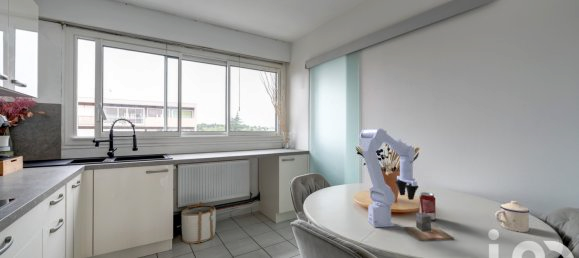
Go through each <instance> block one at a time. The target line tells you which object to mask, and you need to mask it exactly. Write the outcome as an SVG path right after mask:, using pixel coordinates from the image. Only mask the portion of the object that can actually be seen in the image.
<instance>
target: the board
mask: <svg viewBox="0 0 579 258" xmlns="http://www.w3.org/2000/svg"><path fill="white" fill-rule="evenodd" d="M403 229H404V231H406V232H407V233H409V234H410V235H411V237H414V238H415V239H416V240H418V241H419V242H423V241H451V240H455V237H453V235H450V234H449V233H447V232H445V231H444V230H442V229H441V228H439V227H437V226H436V225H431V231H421V230H420V229H418V228H417V227H416V226H404V227H403Z"/></svg>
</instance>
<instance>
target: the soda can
mask: <svg viewBox="0 0 579 258" xmlns="http://www.w3.org/2000/svg"><path fill="white" fill-rule="evenodd" d="M418 203H419V204H418V207H419V210H418V213H426V214H428V215H429V216H431V222H432V221H434V220H436V216H437V215H436V197H435V195H434V193H431V192H423V191H422V192H420V195H419V199H418Z"/></svg>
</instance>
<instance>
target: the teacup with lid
mask: <svg viewBox="0 0 579 258" xmlns="http://www.w3.org/2000/svg"><path fill="white" fill-rule="evenodd" d="M529 213H530V209H529V208H527V207H526V206H523V205H521V204H520V203H518V201H516V200H511V201H510V202H508V203H502V204H500V210H497V211H496V212H495V214H494V216H495V219H496V220H497V221H498V222H500V223H501V224H500V226H502V227H503V228H504V229H506V230H510V231H513V232H517V231H518V232H517V233H519V232H520V233H527V232H529V230H530V227H529V226H530V225H529V224H530V222H529ZM500 214H501V215H500ZM499 215H500V217H499Z"/></svg>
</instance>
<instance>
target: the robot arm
mask: <svg viewBox="0 0 579 258" xmlns="http://www.w3.org/2000/svg"><path fill="white" fill-rule="evenodd" d="M358 138H359V141H360V144H361V150H362V151H361V152H362V155H363V158H364V161H365V165H366V169H367V170H368V174H369V178H370V181H371V186H369V197H370V199H371V201H372V204H371V203H370V204H368V207H367V211H368V212H367V215H368V216H367V217H368V218H367V221H368V222H369V223H370V224H371V226H373V227H374V228H380V227H382V228H384V227H388V228H389V227H396V225H395V224H394V223H393V222H392V206H393V205H394V203H395V202H396V201H395V200H396V195H395V192H393V191H392V188H391V186H389V185H388V184H387V182H386V181H385V178H384V174H383V172H382V171H383V170H382V168H381V165H380V161H379V157H378V154H377V151H378V150H379V149H380V148H381V147H382V145H383V144H386V145H388V146H389V148H390V149H391V150H392V151H393V152H395V153H396V154H397V156H398V157H399V175H397V176H396V180H395V184H396V186H397V188H398V192H399V195H400V196H405V195H406V192H407V198H408V200H409V201H411V200H413V201H414V198H415V195H416V192H417V191H418V188H419V185H418V181H416V179H415V178H414V174H413V173H414V172H413V171H414V167H413V166H414V165H413V162H414V160H415V156H416V150H415V147H413V146H412V145H408V144H407V143H406V142H403V141H402V139H400V138H397V139H396V138H395V139H394V138H393V137H392V136H391V135H389V134H388V133H387V130H384V129H383V128H363V129H362V130H361V132H360V134H359V137H358Z"/></svg>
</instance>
